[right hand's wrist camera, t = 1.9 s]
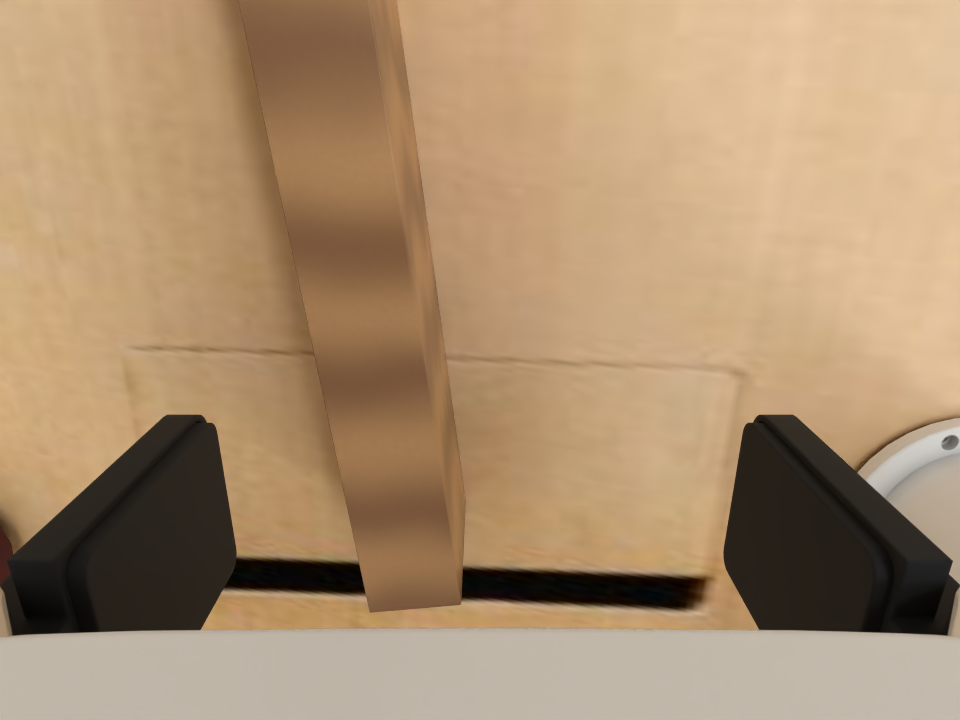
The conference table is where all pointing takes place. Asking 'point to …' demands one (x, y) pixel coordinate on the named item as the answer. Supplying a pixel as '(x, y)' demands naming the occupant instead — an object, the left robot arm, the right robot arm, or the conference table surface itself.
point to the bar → (366, 282)
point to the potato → (4, 556)
